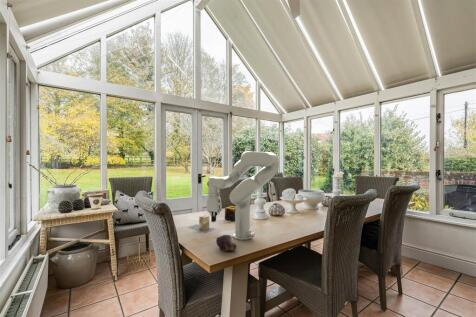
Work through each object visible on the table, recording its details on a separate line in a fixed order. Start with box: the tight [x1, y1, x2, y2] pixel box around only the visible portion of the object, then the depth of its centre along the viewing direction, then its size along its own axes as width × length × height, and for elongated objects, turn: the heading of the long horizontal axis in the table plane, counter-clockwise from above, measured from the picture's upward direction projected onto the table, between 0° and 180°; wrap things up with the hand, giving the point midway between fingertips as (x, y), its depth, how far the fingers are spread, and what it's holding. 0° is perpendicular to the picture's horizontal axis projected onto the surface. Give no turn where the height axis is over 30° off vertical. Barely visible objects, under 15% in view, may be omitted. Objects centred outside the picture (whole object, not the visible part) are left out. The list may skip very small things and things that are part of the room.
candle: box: [224, 205, 236, 222], centre depth 186 cm, size 10×10×10 cm
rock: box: [215, 234, 237, 252], centre depth 123 cm, size 12×9×10 cm
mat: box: [186, 224, 216, 233], centre depth 160 cm, size 19×10×1 cm, turn 55°
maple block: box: [198, 214, 210, 231], centre depth 158 cm, size 5×5×9 cm
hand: (213, 221), depth 153 cm, fingers closed
